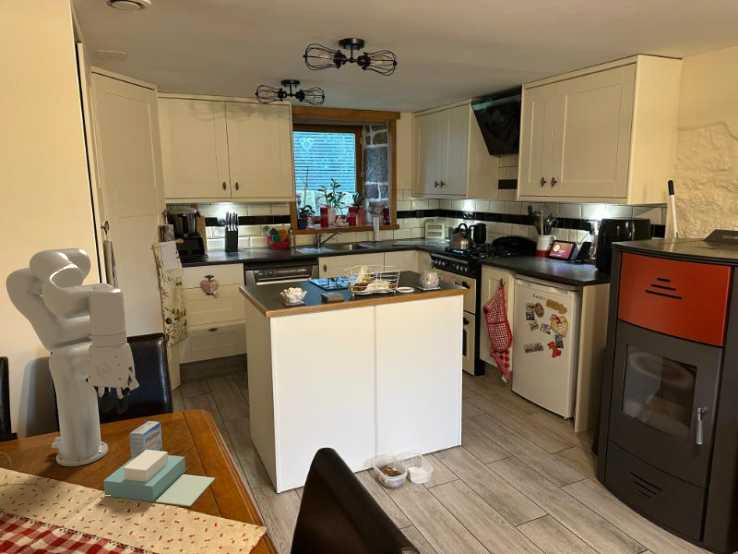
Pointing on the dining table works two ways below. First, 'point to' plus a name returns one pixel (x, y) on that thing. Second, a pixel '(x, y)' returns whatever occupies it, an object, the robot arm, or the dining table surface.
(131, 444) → the medicine box
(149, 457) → the white rectangular block
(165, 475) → the block
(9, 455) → the dining table surface
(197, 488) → the mat
